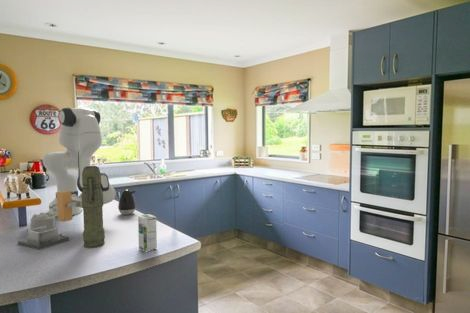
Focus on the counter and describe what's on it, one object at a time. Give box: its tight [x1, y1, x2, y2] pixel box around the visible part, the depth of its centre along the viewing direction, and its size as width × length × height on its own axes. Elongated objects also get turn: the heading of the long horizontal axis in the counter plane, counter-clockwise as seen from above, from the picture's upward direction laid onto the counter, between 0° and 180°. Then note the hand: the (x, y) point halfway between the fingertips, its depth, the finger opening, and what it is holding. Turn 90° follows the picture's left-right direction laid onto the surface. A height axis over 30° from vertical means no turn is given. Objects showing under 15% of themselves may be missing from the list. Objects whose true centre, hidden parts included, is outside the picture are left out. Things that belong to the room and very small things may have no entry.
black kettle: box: [117, 189, 137, 216], centre depth 200 cm, size 10×10×15 cm
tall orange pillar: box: [56, 191, 73, 223], centre depth 158 cm, size 4×4×14 cm
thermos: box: [80, 165, 106, 249], centre depth 143 cm, size 9×12×35 cm
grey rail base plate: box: [17, 226, 70, 250], centre depth 148 cm, size 14×16×6 cm
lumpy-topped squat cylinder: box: [30, 212, 57, 230], centre depth 168 cm, size 10×13×9 cm
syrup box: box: [137, 213, 158, 253], centre depth 137 cm, size 6×6×14 cm
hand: (62, 204), depth 157 cm, fingers closed on tall orange pillar, 4 cm apart
